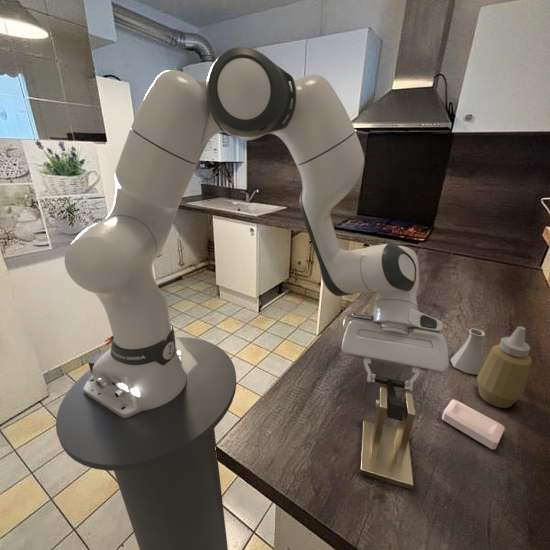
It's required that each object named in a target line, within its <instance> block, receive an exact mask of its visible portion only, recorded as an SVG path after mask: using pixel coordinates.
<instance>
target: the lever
mask: <svg viewBox="0 0 550 550" xmlns="http://www.w3.org/2000/svg"><path fill="white" fill-rule="evenodd" d="M375 383H377V384H382V385H385V386H386V390H387V411H386V416H387V418H388V419H391V420H395V421H398V422H399V421H402V419H403V412H404V405H403V402H404V400H403V398H398V397H397V393H396V389H395V388H400V389H403V388H404V386H405V384H404V382H403V381H401V380H397V379H392V378H387V377H383V376H378V375H376V377H375Z"/></svg>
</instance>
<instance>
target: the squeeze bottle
mask: <svg viewBox="0 0 550 550" xmlns="http://www.w3.org/2000/svg"><path fill="white" fill-rule="evenodd" d="M530 351H531V346H530V345H529V344H528V343H527V342H526V327H524V326H520V325H519V326H517V327H516V328H515V330H514V331H513V332H512V334H510V336H504V337H502V338H501V339H500V342H499V344H494V345H493V346H492V347H491V349H490V351H489V353H488V355H487V357H486V359H485V360H484V362H483V366H482V368H481V370H480V372H479V374H478V375H476V376H477V377H476V381H477V382H476V383H477V390H478V394H479V396H480V397H481V399H482V400H484V401H485V402H486V403H488V404H489V405H491V406H494V407H496V408H500V409H507V408H510V407H512V405H514V404H515V403H516V402H518V401H519V400H520V399H522V398H523V396H524V392H525V388H526V384H527V380H528V378H529V377H528V376H529V373H530V369H531V366H532V361H533V359H532V358H531V356H530V355H529V353H530Z"/></svg>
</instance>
